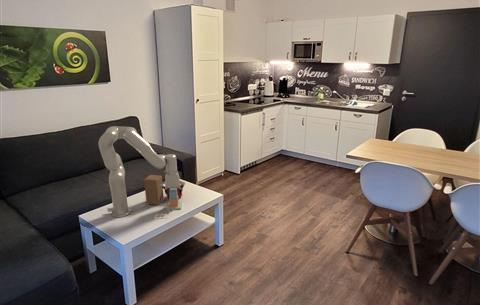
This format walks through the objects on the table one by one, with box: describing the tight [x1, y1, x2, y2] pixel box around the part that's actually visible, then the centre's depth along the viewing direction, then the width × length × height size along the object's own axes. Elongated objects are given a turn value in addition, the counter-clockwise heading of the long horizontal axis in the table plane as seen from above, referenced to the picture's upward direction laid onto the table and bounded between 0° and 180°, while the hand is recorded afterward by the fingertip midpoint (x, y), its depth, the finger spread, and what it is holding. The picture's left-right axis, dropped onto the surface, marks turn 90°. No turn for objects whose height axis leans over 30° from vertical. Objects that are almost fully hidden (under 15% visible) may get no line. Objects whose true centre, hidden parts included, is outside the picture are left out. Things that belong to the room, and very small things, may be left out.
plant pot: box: [166, 183, 184, 199], centre depth 242 cm, size 13×13×12 cm
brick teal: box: [169, 188, 177, 199], centre depth 226 cm, size 5×5×6 cm
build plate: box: [166, 201, 183, 211], centre depth 229 cm, size 10×10×1 cm
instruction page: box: [153, 213, 168, 220], centre depth 215 cm, size 8×6×1 cm
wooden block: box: [143, 174, 165, 206], centre depth 233 cm, size 10×10×20 cm
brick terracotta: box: [168, 196, 180, 207], centre depth 228 cm, size 6×6×6 cm
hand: (173, 194), depth 226 cm, fingers open, 9 cm apart
